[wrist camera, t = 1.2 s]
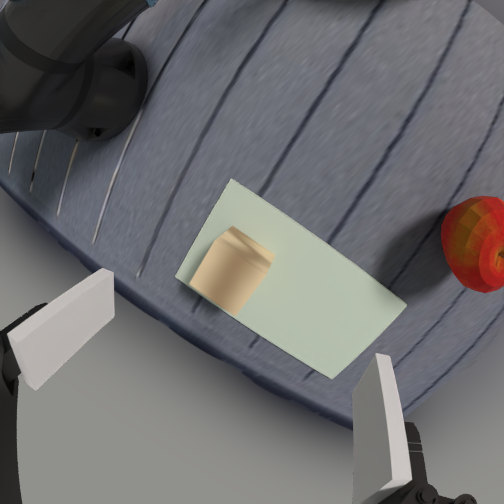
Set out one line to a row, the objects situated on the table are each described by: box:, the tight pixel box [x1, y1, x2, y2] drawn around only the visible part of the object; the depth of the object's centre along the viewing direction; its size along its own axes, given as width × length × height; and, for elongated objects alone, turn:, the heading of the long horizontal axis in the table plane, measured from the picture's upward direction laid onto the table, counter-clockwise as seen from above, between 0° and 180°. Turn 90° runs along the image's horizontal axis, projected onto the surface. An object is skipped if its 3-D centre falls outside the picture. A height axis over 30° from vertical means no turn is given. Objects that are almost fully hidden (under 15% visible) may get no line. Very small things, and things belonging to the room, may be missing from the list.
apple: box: [441, 196, 504, 293], centre depth 23 cm, size 9×9×12 cm
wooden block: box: [189, 226, 275, 316], centre depth 33 cm, size 6×6×6 cm
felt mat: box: [175, 179, 407, 379], centre depth 36 cm, size 26×15×1 cm, turn 58°
